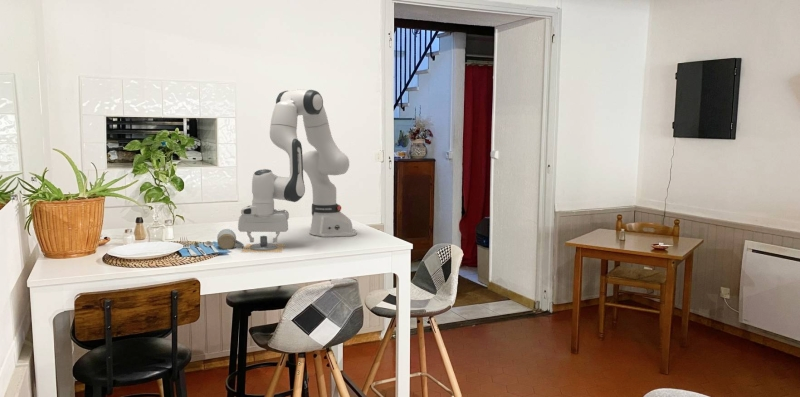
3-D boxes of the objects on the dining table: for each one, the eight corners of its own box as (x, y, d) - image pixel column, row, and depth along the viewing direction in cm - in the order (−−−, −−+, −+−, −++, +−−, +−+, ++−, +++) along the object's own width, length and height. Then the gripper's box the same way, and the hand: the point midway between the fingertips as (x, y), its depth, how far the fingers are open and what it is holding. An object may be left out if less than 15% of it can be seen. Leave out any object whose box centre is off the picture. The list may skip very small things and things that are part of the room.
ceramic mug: (217, 251, 250) (217, 232, 249) (217, 246, 258) (217, 228, 257) (244, 250, 253) (244, 232, 252) (243, 246, 261) (243, 228, 260)
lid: (278, 245, 261) (278, 233, 260) (275, 250, 250) (275, 239, 250) (251, 245, 260) (251, 233, 259) (248, 250, 249) (248, 239, 248)
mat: (285, 245, 264) (285, 243, 264) (281, 253, 248) (281, 252, 248) (247, 245, 262) (247, 243, 262) (240, 253, 246) (240, 252, 246)
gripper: (289, 208, 257) (289, 240, 259) (239, 207, 255) (240, 240, 257) (288, 210, 251) (288, 243, 252) (237, 210, 249) (237, 243, 251)
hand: (263, 242), depth 255 cm, fingers open, 8 cm apart
